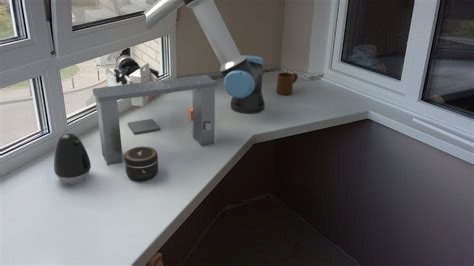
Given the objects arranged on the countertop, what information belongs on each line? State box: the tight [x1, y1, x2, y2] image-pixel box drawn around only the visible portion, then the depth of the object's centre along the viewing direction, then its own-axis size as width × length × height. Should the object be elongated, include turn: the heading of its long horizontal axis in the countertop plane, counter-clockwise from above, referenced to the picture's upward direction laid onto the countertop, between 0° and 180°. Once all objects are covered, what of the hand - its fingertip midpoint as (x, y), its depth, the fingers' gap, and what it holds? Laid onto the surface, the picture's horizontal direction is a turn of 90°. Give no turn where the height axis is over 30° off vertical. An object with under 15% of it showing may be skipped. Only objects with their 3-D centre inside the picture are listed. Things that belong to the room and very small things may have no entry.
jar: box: [123, 146, 159, 183], centre depth 127 cm, size 10×10×8 cm
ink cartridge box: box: [129, 62, 153, 107], centre depth 153 cm, size 9×5×15 cm, turn 169°
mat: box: [127, 118, 161, 136], centre depth 161 cm, size 10×10×1 cm
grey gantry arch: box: [92, 74, 218, 166], centre depth 140 cm, size 9×39×24 cm, turn 118°
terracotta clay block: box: [187, 106, 212, 130], centre depth 149 cm, size 16×4×4 cm, turn 28°
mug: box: [276, 72, 298, 96], centre depth 202 cm, size 12×8×9 cm, turn 129°
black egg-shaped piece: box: [53, 132, 92, 185], centre depth 122 cm, size 10×10×15 cm
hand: (143, 83), depth 149 cm, fingers closed on ink cartridge box, 9 cm apart
